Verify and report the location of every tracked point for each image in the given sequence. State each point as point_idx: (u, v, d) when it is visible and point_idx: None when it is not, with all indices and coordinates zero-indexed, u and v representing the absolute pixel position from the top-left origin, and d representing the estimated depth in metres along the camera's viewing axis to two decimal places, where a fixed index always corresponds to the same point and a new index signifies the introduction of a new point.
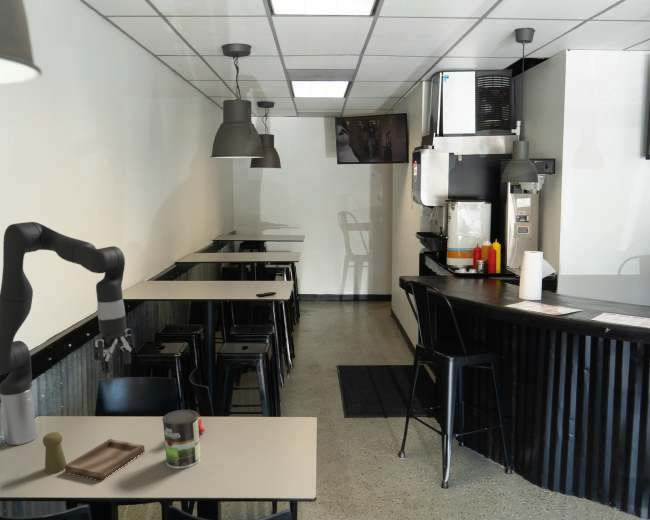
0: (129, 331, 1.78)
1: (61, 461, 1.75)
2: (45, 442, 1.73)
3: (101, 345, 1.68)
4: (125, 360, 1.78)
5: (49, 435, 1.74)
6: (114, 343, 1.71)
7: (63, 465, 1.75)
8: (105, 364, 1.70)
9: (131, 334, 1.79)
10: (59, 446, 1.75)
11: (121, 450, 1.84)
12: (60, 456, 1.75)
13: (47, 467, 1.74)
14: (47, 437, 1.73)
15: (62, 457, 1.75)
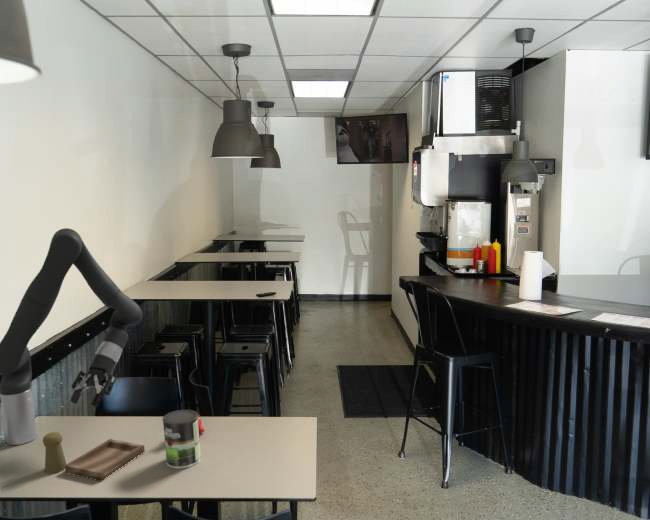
0: None
1: (61, 461, 1.75)
2: (45, 442, 1.73)
3: None
4: (74, 399, 1.87)
5: (49, 435, 1.74)
6: None
7: (63, 465, 1.75)
8: None
9: None
10: (59, 446, 1.75)
11: (121, 450, 1.84)
12: (60, 456, 1.75)
13: (47, 467, 1.74)
14: (47, 437, 1.73)
15: (62, 457, 1.75)
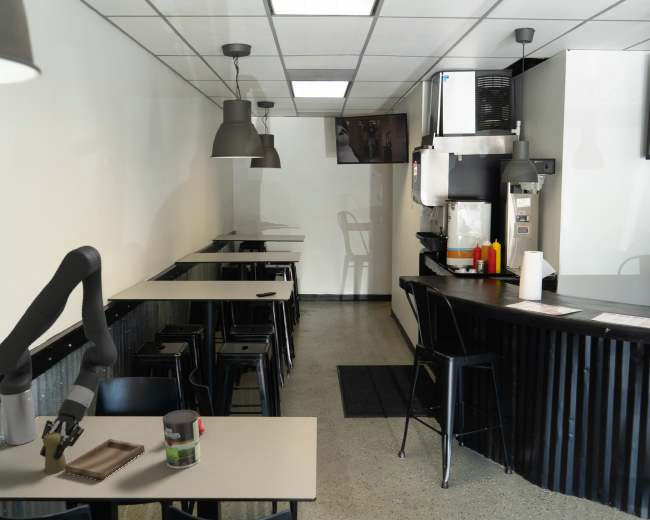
0: None
1: (61, 461, 1.75)
2: (45, 442, 1.73)
3: None
4: (44, 452, 1.75)
5: (49, 435, 1.74)
6: None
7: (63, 465, 1.75)
8: None
9: None
10: None
11: (121, 450, 1.84)
12: None
13: (47, 467, 1.74)
14: (47, 437, 1.73)
15: (62, 457, 1.75)
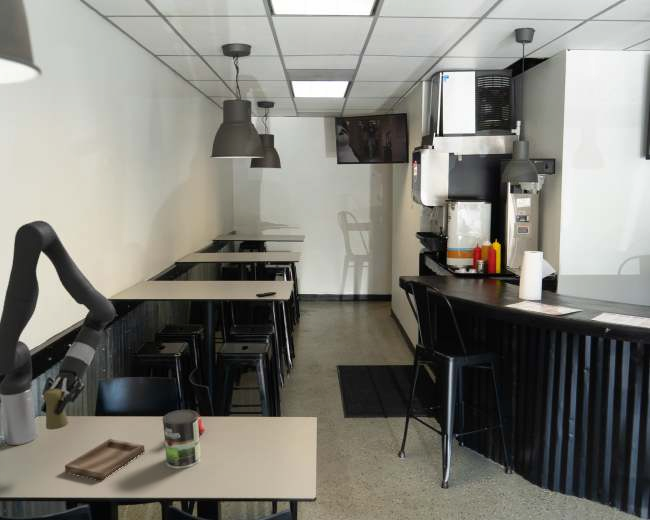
0: None
1: (62, 417, 1.73)
2: (46, 397, 1.71)
3: None
4: (45, 408, 1.74)
5: (50, 390, 1.72)
6: None
7: (64, 421, 1.74)
8: None
9: None
10: None
11: (121, 450, 1.84)
12: None
13: (48, 423, 1.72)
14: (48, 392, 1.71)
15: (63, 413, 1.74)
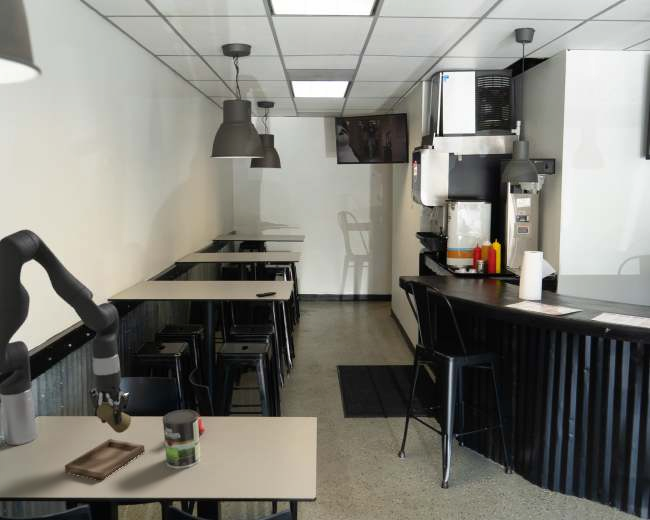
0: None
1: (123, 421, 1.82)
2: (101, 418, 1.76)
3: None
4: None
5: (100, 411, 1.76)
6: None
7: (127, 421, 1.83)
8: None
9: None
10: None
11: (121, 450, 1.84)
12: None
13: (114, 429, 1.82)
14: (100, 414, 1.76)
15: (122, 417, 1.82)
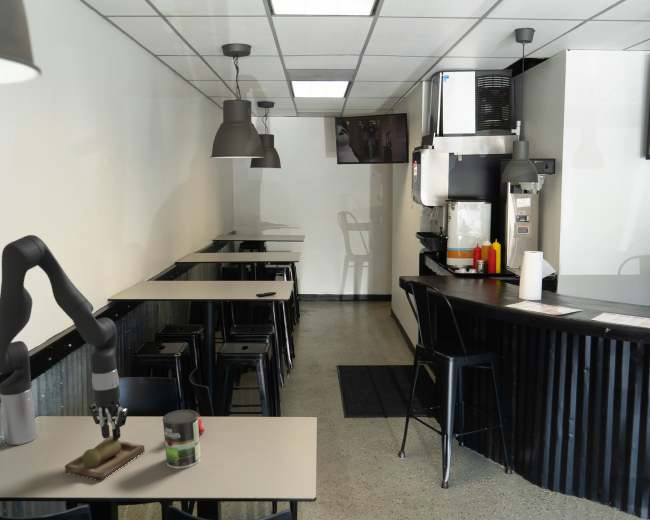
0: None
1: (113, 452, 1.77)
2: None
3: None
4: (106, 434, 1.81)
5: (87, 463, 1.71)
6: None
7: (117, 448, 1.79)
8: None
9: None
10: (101, 455, 1.73)
11: (121, 450, 1.84)
12: (109, 453, 1.76)
13: None
14: (87, 466, 1.71)
15: (111, 450, 1.77)
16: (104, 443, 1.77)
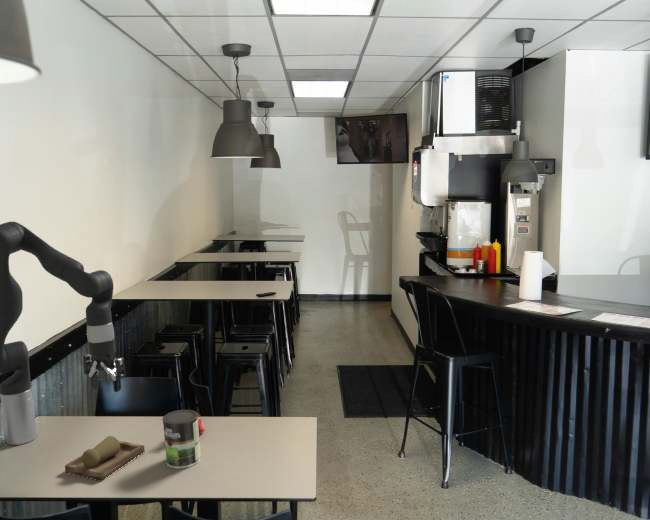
0: (91, 356, 1.80)
1: (112, 451, 1.77)
2: None
3: None
4: (95, 385, 1.79)
5: (86, 463, 1.71)
6: None
7: (116, 447, 1.79)
8: None
9: None
10: (101, 455, 1.74)
11: (121, 450, 1.84)
12: (108, 453, 1.76)
13: None
14: (87, 466, 1.71)
15: (110, 449, 1.77)
16: (103, 443, 1.77)
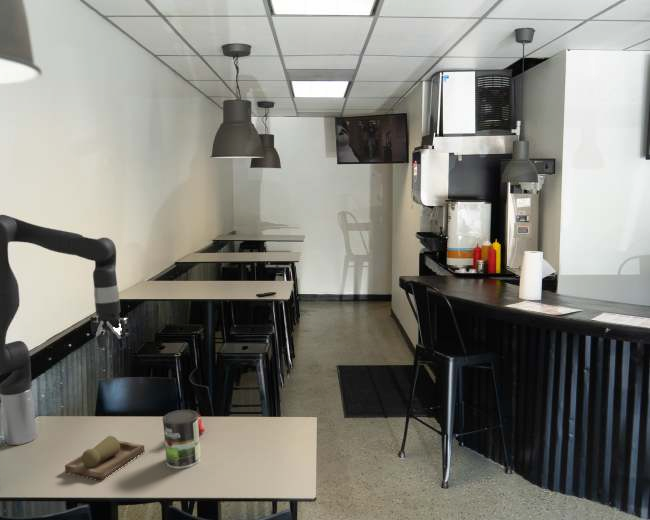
0: (97, 317, 1.95)
1: (112, 451, 1.77)
2: None
3: None
4: (102, 343, 1.95)
5: (86, 463, 1.71)
6: None
7: (116, 447, 1.79)
8: None
9: None
10: (101, 455, 1.74)
11: (121, 450, 1.84)
12: (108, 453, 1.76)
13: None
14: (87, 466, 1.71)
15: (110, 449, 1.77)
16: (103, 443, 1.77)
